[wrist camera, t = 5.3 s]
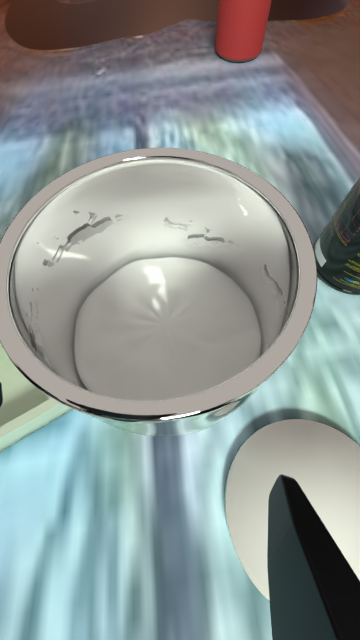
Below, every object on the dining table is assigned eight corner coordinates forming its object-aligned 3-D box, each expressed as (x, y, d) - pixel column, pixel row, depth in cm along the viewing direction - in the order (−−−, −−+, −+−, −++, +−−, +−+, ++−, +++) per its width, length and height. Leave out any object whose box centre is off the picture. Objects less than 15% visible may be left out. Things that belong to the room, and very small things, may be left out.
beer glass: (133, 337, 21) (29, 139, 7) (222, 339, 20) (300, 141, 7) (122, 434, 18) (-91, 429, 4) (226, 438, 18) (374, 447, 4)
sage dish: (-14, 459, 17) (-44, 463, 15) (-36, 376, 20) (-65, 368, 17) (76, 406, 18) (61, 402, 16) (46, 334, 21) (29, 321, 18)
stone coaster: (300, 672, 13) (306, 683, 13) (193, 475, 17) (193, 476, 16) (433, 543, 15) (443, 547, 15) (312, 391, 19) (316, 390, 18)
